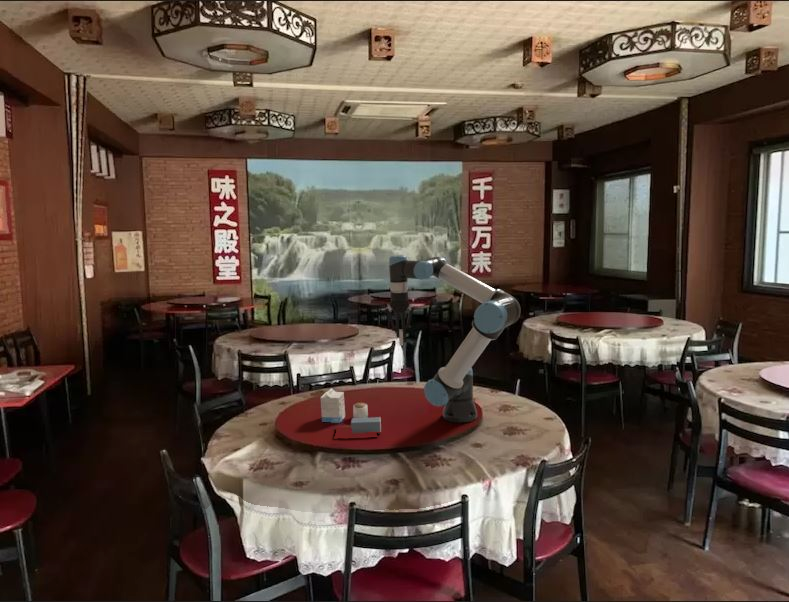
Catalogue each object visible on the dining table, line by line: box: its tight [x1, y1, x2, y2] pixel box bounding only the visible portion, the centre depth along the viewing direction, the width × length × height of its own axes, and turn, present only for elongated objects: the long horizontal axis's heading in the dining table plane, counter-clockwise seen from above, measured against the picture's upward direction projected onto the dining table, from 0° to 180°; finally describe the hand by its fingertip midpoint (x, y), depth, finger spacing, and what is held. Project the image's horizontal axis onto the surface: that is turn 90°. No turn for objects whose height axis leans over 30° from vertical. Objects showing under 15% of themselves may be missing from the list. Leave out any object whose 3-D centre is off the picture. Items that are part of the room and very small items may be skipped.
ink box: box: [320, 387, 346, 424], centre depth 262 cm, size 9×8×13 cm
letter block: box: [350, 416, 382, 433], centre depth 246 cm, size 5×5×12 cm
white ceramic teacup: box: [352, 402, 369, 418], centre depth 263 cm, size 6×6×6 cm
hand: (401, 344), depth 257 cm, fingers closed
